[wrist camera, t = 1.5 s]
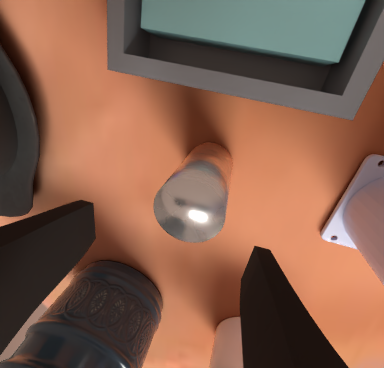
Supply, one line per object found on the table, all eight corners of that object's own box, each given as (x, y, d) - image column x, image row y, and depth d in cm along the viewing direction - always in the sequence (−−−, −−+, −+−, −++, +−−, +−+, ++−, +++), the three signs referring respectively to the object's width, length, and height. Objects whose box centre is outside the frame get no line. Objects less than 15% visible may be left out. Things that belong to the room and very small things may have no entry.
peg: (238, 148, 17) (234, 191, 10) (226, 189, 19) (215, 250, 12) (192, 137, 18) (157, 170, 10) (184, 179, 19) (150, 230, 12)
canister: (93, 241, 26) (-135, 471, 10) (181, 292, 26) (89, 592, 11) (73, 292, 32) (-89, 487, 16) (144, 334, 32) (52, 563, 17)
